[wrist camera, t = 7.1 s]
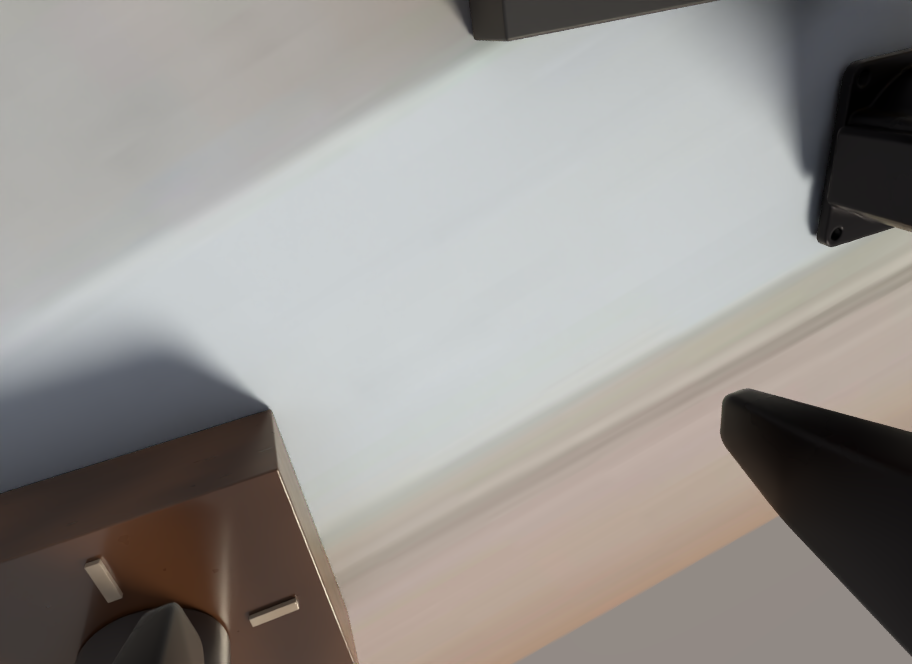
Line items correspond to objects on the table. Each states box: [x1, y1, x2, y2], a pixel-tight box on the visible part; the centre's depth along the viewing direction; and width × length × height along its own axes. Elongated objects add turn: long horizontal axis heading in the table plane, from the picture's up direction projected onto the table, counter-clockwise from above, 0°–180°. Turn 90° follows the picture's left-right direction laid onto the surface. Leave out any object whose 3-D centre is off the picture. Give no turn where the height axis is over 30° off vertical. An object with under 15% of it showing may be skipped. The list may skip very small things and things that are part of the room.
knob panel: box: [0, 410, 359, 664], centre depth 18 cm, size 14×10×3 cm
